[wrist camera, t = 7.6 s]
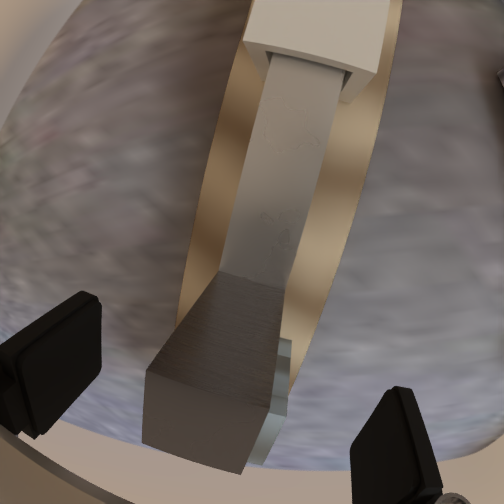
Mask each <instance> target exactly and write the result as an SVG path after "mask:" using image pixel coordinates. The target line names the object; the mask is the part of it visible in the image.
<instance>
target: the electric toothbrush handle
mask: <svg viewBox="0 0 504 504" xmlns="http://www.w3.org/2000/svg"><path fill="white" fill-rule="evenodd" d="M497 74H498V76H499V78H500V81H501V83H502V85H503V87H504V68H503V69H501V70H500V71H499V72H497Z"/></svg>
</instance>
